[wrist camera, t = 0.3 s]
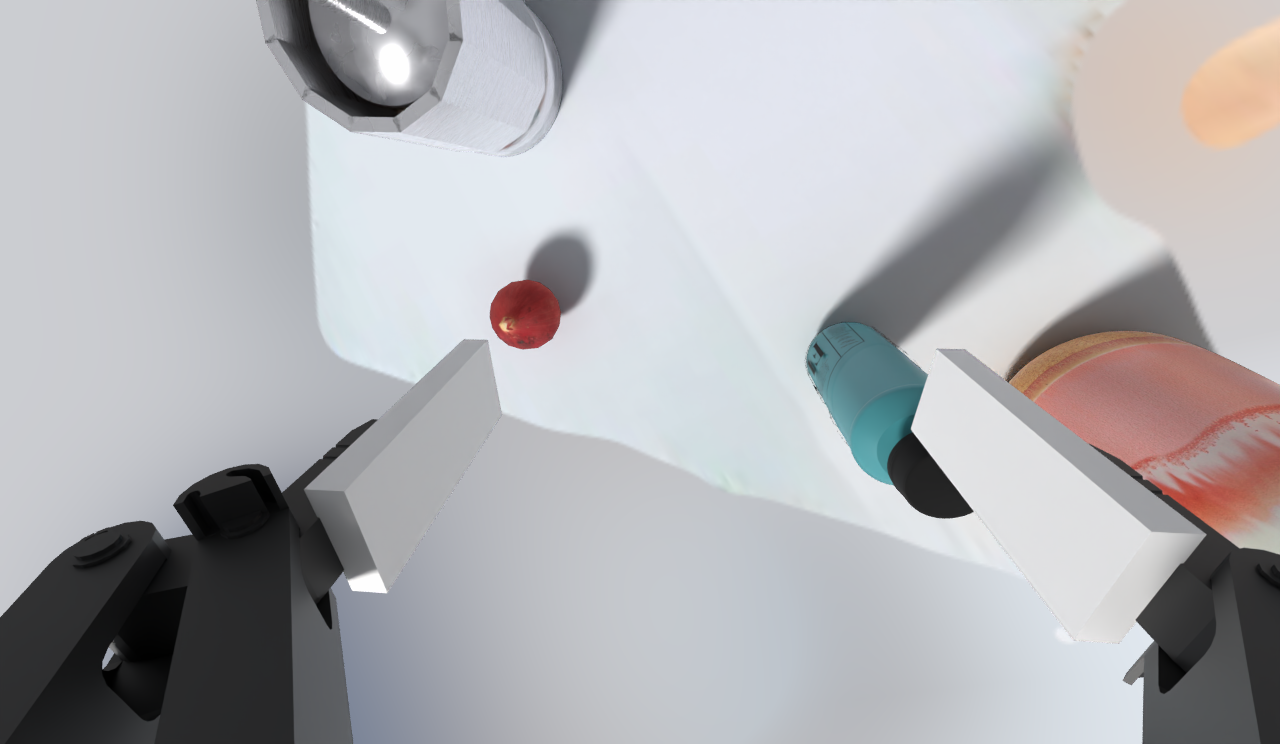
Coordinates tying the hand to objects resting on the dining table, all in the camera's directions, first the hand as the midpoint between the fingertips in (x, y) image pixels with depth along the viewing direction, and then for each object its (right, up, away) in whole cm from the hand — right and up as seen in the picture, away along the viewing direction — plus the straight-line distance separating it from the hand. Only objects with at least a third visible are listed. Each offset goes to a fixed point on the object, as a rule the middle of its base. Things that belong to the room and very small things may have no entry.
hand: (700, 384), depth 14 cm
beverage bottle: (+16, +2, +25) cm, 30 cm away
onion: (-11, +7, +28) cm, 31 cm away
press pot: (-13, +25, +22) cm, 36 cm away
